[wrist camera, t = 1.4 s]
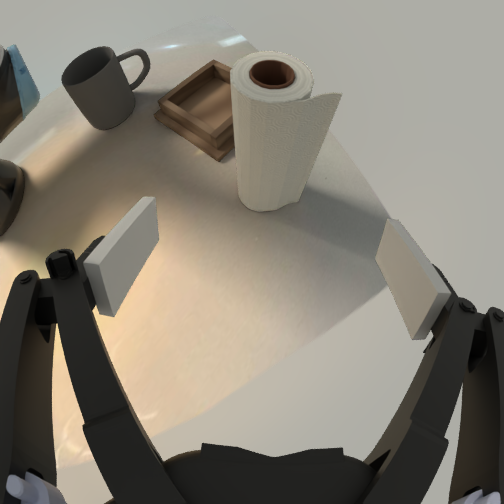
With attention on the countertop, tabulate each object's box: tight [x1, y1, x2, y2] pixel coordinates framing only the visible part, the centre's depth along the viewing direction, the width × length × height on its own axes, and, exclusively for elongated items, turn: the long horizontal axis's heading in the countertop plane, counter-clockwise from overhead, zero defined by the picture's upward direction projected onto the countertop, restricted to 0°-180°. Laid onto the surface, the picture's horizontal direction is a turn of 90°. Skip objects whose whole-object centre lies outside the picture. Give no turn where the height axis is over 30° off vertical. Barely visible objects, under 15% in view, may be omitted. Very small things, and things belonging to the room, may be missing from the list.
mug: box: [62, 46, 150, 130], centre depth 36 cm, size 14×9×12 cm
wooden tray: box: [154, 60, 235, 162], centre depth 40 cm, size 14×14×4 cm
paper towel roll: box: [230, 51, 342, 212], centre depth 28 cm, size 7×6×21 cm
